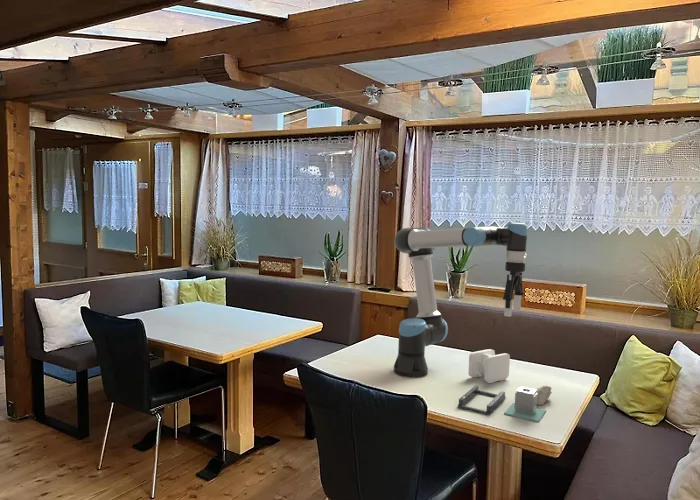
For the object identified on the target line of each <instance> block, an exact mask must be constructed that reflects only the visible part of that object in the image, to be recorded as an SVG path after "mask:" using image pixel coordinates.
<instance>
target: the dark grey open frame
mask: <svg viewBox="0 0 700 500" xmlns="http://www.w3.org/2000/svg"><path fill="white" fill-rule="evenodd" d="M479 388H480V386H479V385H474V386H473V387H471V388H470V389H469V390H468V391H467V392H465V393H464V394H463V395H462V396H461V397H460V398H459V399H458V405H457V409H460V410H466V411H469V412H474V413H477V414H481V415H485V416H486V415H487V416H491V415H492V413H494V411H495V410H496V409H498V407H499V406H501V404H502V403H503V402H505V400H506V399H507V398H506V391H504V390H501V391H500V392H499V393H493V392H489V391H483V390H479ZM478 395H483V396H489V397H493V399H492V400H490V402H488V403H487V404H486V409H485V410H484V409H481V408H476V407H472V406H467V404H469V403H470V402H471V401H472V400H473V399H474V398H475V397H476V396H478Z"/></svg>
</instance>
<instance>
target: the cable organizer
mask: <svg viewBox="0 0 700 500" xmlns="http://www.w3.org/2000/svg"><path fill="white" fill-rule="evenodd" d="M495 351H496V350H494V349H491V348H489V349H483V350H478V351H472V352H471V353H470V354H469V357H468V376H469V377H470V378H474V379H476V378H481V377H482V376H484V381H485V382H486V383H488V384H493V383H496V382H498V381H499V382H502V381H505V380H506V379H507V378H509V376H510V364H511V363H510V360H511V355H510V354H509V353H505V352H504V353H500V354H499V353H498V354H496V353H495Z"/></svg>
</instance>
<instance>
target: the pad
mask: <svg viewBox="0 0 700 500" xmlns="http://www.w3.org/2000/svg"><path fill="white" fill-rule="evenodd" d="M514 405H515V402H512V404H511V405H510V406H508V408H507V409H506V410H505V411H504V413H503V415H506V416H509V417H514V418H519V419H523V420H526V421H527V420H528V421H530V422H536V423H539V422H540V421H541V420H542V418H543V416H544V415H545V414H546V412H547V410H546V409H544V408H543V409H542V408H537V409H536V411H535V412H534V414H533V415H532V416H529V415H524V414H520V413H516V412H515V409H514ZM540 419H541V420H540Z"/></svg>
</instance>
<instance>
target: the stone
mask: <svg viewBox="0 0 700 500" xmlns="http://www.w3.org/2000/svg"><path fill="white" fill-rule="evenodd" d="M535 389H536V390H537V393H538V394H537V406H544V404H545V403H546V402H547V401H548V399H549V398H550V396H551V395H552V387H551V386H549V385H548V386H547V385H542V386H540V387H537V388H535Z"/></svg>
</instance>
